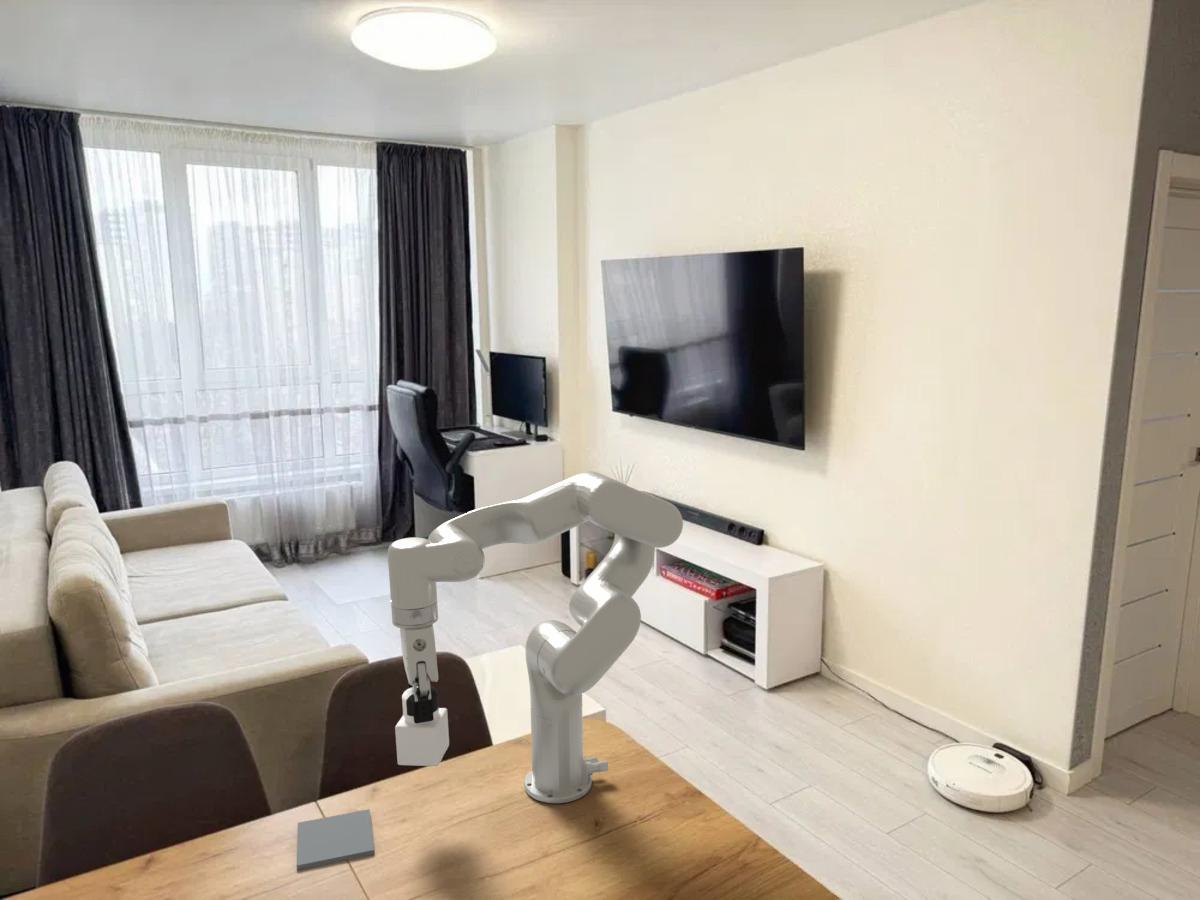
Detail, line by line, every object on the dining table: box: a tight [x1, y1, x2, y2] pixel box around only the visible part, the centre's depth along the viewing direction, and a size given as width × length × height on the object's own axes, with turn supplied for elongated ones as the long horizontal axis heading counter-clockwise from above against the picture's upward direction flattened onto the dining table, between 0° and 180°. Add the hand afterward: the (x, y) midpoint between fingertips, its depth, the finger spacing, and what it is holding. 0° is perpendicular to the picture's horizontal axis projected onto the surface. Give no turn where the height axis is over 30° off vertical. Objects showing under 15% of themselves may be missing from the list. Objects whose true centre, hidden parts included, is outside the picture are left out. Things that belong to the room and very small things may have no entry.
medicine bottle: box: [394, 685, 450, 767], centre depth 145 cm, size 7×7×12 cm
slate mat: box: [296, 808, 375, 871], centre depth 143 cm, size 12×12×1 cm
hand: (421, 711), depth 145 cm, fingers closed on medicine bottle, 6 cm apart
